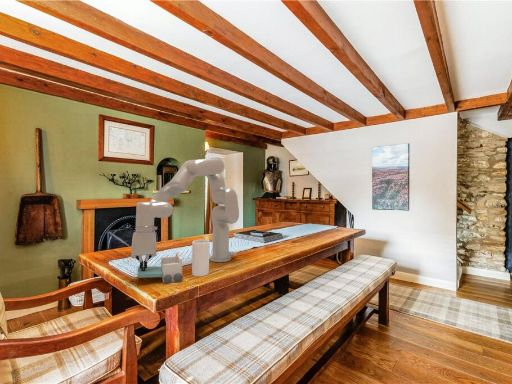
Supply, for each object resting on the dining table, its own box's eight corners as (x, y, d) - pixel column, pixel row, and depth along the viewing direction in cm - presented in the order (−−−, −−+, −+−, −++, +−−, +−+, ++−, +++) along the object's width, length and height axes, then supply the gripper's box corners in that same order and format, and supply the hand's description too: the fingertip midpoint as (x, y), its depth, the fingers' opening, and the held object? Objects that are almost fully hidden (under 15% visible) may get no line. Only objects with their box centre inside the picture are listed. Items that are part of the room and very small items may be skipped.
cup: (193, 270, 130) (193, 239, 130) (209, 270, 131) (210, 239, 130) (190, 276, 122) (191, 243, 121) (208, 276, 123) (208, 243, 122)
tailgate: (160, 266, 123) (137, 266, 119) (162, 273, 113) (138, 274, 109) (160, 269, 123) (137, 269, 119) (162, 277, 113) (137, 277, 109)
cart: (177, 271, 128) (177, 251, 128) (182, 281, 115) (182, 259, 115) (160, 273, 125) (161, 253, 125) (163, 284, 112) (163, 261, 112)
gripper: (161, 227, 121) (160, 266, 121) (126, 228, 115) (125, 269, 115) (163, 230, 114) (161, 271, 114) (125, 231, 108) (124, 274, 108)
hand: (143, 270), depth 115 cm, fingers closed
